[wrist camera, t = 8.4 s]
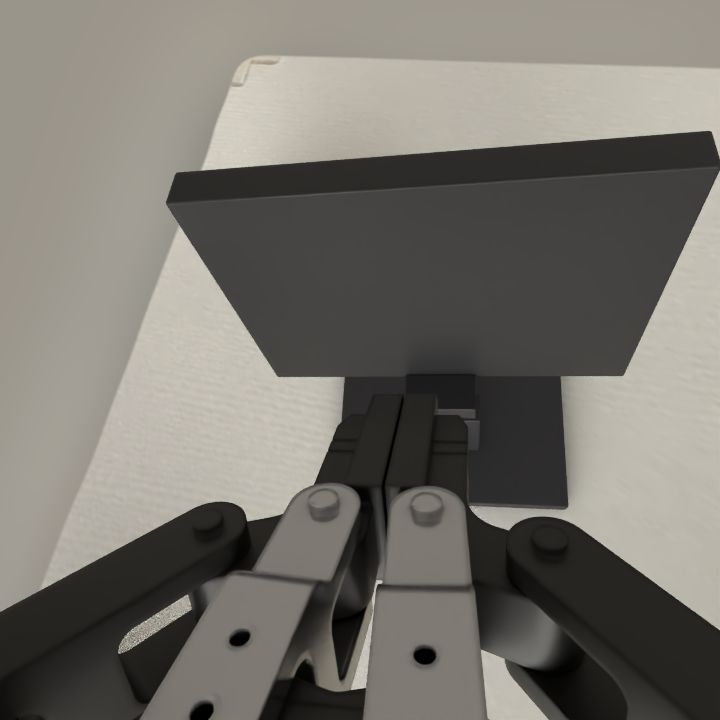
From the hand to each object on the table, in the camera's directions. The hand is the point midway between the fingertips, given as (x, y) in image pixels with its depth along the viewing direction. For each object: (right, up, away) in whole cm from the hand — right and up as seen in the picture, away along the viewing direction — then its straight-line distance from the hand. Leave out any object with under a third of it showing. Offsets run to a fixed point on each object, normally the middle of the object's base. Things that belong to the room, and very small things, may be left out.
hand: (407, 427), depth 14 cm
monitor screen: (+3, 0, +14) cm, 14 cm away
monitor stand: (+4, -2, +22) cm, 22 cm away
